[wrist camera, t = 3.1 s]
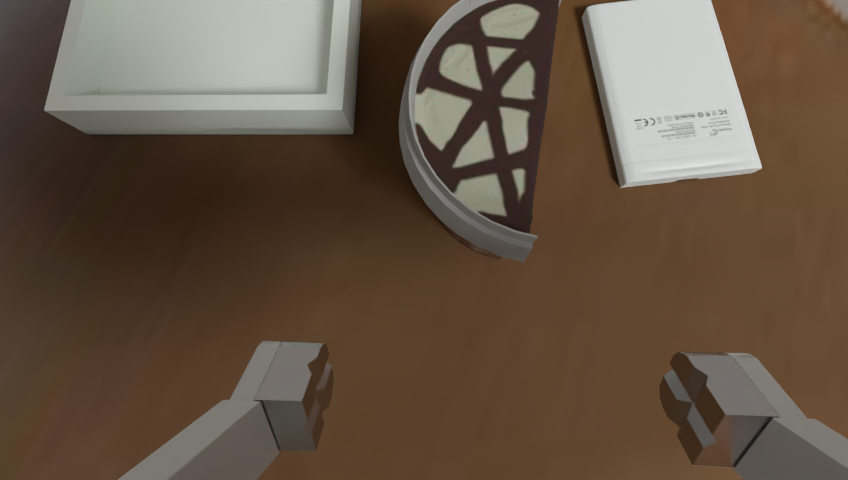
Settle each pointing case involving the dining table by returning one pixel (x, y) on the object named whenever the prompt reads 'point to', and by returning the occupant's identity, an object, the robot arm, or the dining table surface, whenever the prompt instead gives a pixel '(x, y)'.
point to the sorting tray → (208, 67)
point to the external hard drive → (668, 92)
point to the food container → (480, 120)
